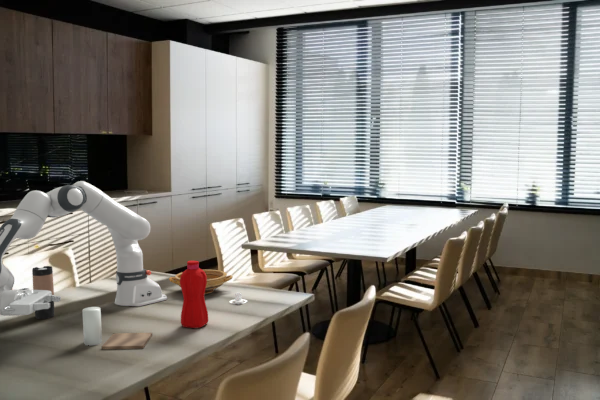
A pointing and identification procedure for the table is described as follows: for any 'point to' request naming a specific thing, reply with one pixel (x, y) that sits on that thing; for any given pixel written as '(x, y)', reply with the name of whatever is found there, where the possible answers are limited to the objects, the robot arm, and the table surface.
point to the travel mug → (44, 288)
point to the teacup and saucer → (238, 299)
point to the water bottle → (193, 296)
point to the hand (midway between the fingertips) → (54, 302)
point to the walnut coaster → (127, 341)
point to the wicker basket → (208, 279)
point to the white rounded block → (92, 326)
